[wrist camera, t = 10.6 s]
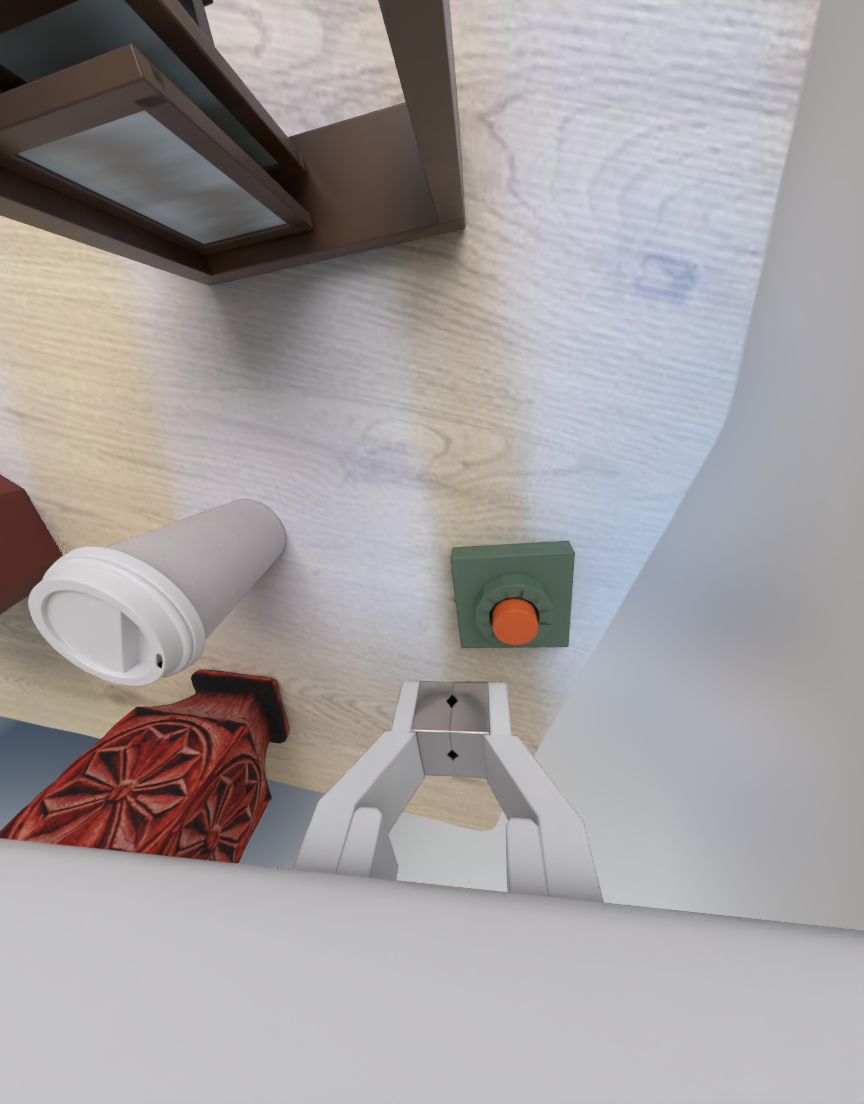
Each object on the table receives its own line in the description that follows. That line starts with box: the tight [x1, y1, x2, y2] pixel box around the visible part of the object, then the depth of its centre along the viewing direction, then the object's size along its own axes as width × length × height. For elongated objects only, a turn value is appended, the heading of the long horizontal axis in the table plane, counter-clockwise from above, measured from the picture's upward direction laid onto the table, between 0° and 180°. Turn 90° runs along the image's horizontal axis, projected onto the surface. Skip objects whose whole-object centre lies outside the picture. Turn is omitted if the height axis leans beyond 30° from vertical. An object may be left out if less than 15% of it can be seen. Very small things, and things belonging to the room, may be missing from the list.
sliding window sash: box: [0, 0, 305, 180], centre depth 13 cm, size 8×5×11 cm
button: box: [492, 598, 538, 645], centre depth 28 cm, size 4×4×2 cm
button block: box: [451, 541, 575, 648], centre depth 30 cm, size 10×10×4 cm
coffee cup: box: [28, 499, 286, 686], centre depth 26 cm, size 10×10×15 cm
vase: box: [0, 670, 290, 863], centre depth 32 cm, size 14×14×30 cm
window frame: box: [0, 0, 466, 285], centre depth 14 cm, size 18×5×16 cm, turn 97°
